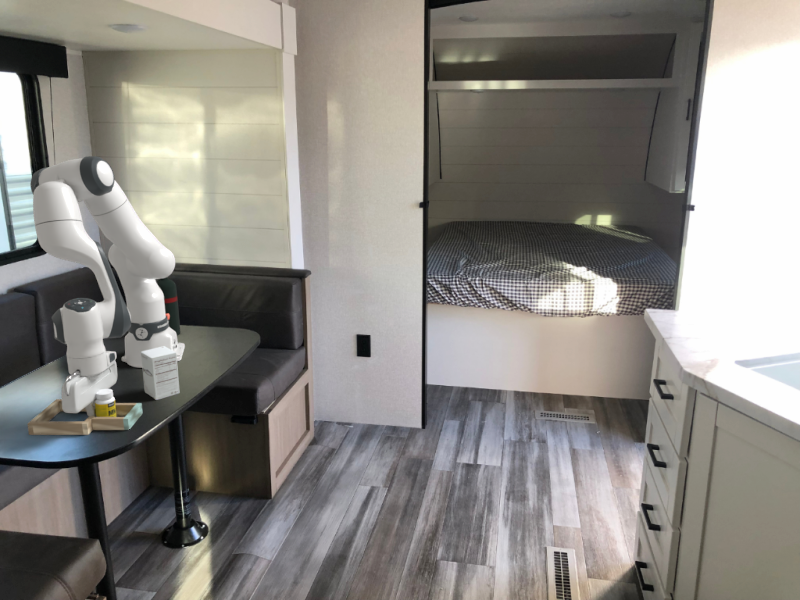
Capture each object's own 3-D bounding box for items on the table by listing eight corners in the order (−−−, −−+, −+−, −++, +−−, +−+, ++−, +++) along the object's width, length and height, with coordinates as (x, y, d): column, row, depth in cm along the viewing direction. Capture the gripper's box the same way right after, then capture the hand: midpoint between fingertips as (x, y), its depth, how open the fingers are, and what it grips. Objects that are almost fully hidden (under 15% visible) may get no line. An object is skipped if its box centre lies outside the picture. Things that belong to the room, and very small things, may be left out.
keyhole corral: (57, 409, 171) (56, 399, 170) (146, 409, 172) (144, 399, 171) (29, 434, 157) (27, 423, 156) (125, 434, 158) (124, 423, 157)
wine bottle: (155, 330, 236) (148, 250, 228) (183, 330, 237) (176, 250, 229) (148, 337, 229) (140, 255, 221) (177, 337, 229) (169, 255, 221)
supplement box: (144, 392, 182) (139, 351, 179) (168, 385, 187) (165, 345, 184) (155, 400, 177) (151, 358, 174) (180, 393, 182) (177, 351, 179)
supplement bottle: (111, 426, 162) (108, 395, 160) (93, 425, 162) (90, 395, 160) (120, 418, 166) (117, 388, 164) (102, 417, 166) (99, 387, 164)
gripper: (76, 379, 150) (83, 433, 153) (119, 350, 169) (124, 398, 173) (50, 378, 150) (58, 432, 154) (96, 349, 170) (102, 397, 173)
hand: (93, 413), depth 164 cm, fingers closed, pressing on supplement bottle
